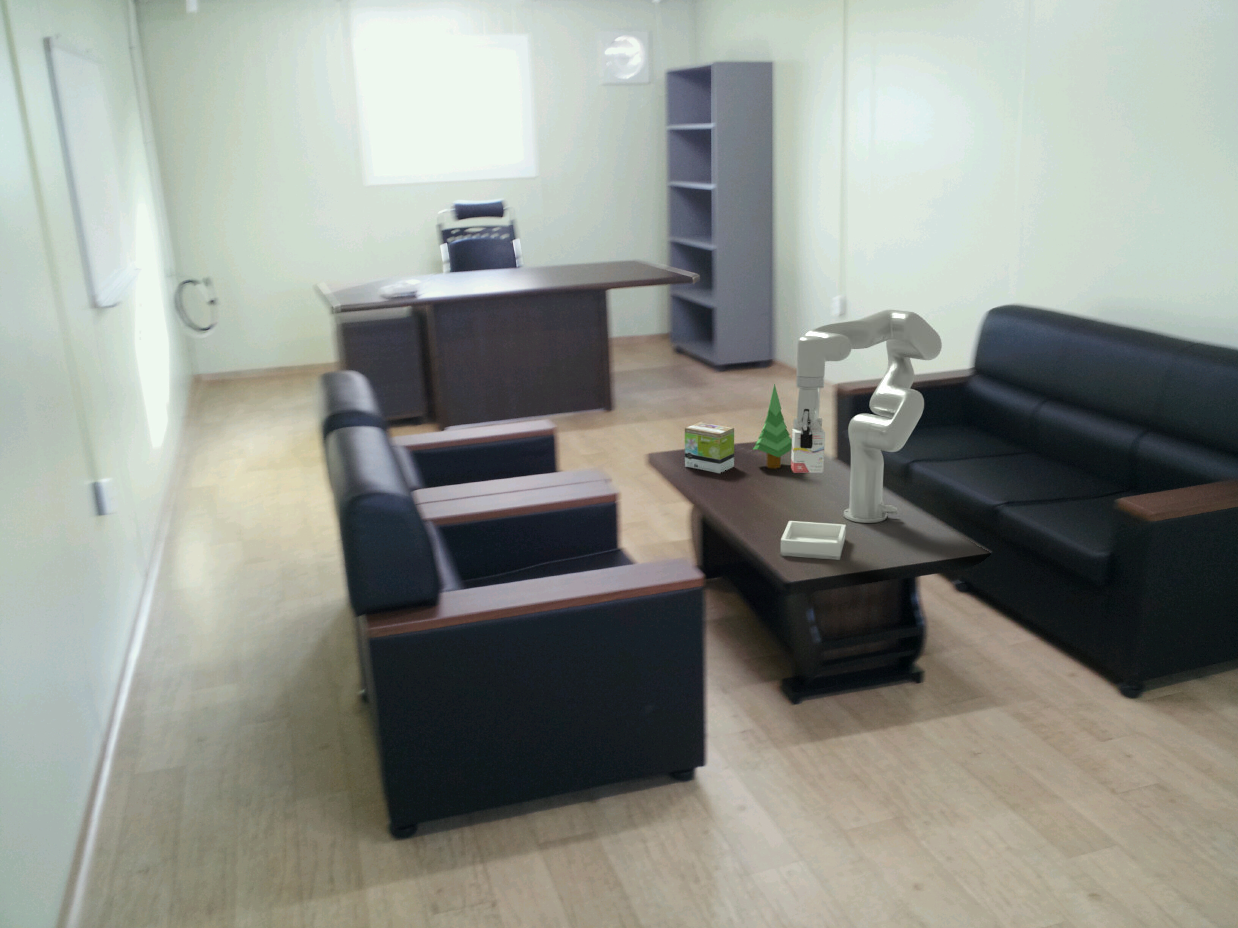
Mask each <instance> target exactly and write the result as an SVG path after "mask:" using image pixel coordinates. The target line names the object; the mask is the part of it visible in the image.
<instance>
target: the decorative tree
mask: <svg viewBox="0 0 1238 928" xmlns="http://www.w3.org/2000/svg"><path fill="white" fill-rule="evenodd" d="M784 420H785V419H784V416H783V413H782V407H781V403H780V398H779V395H778V391H777V387H776V384H775V383H774V384H773V389H772V392H771V397H770V401H769V406H768V409H767V415H766V417H765V421H764V425H763V427H762V429H761V432H760V434H759V436H758V439H757V441H756V442H755V446H754V447H753V448H752V450H753V451H755V450H758V451H761V452H763V453H766V466H767V468H768V469H778V468H781V458H782V456H783V455H785V454H787V453H788V452H790V451H792V437H790V432H789V430H788V429H787V425H786V423H785V421H784Z"/></svg>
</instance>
